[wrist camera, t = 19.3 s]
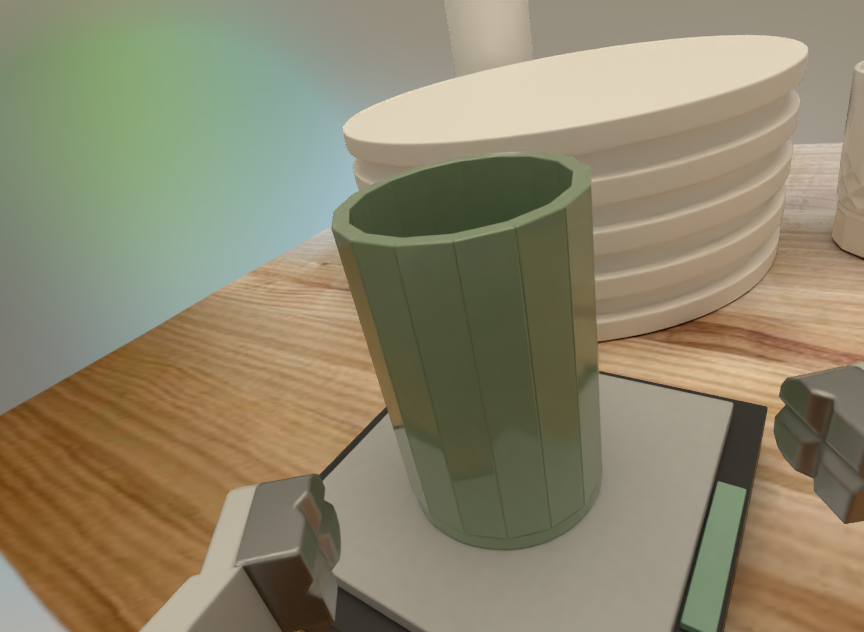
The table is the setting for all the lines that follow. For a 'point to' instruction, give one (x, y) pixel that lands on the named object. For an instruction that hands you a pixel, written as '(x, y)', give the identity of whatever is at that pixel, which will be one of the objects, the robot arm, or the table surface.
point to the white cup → (852, 173)
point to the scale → (573, 550)
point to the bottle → (488, 34)
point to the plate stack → (630, 158)
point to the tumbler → (484, 338)
